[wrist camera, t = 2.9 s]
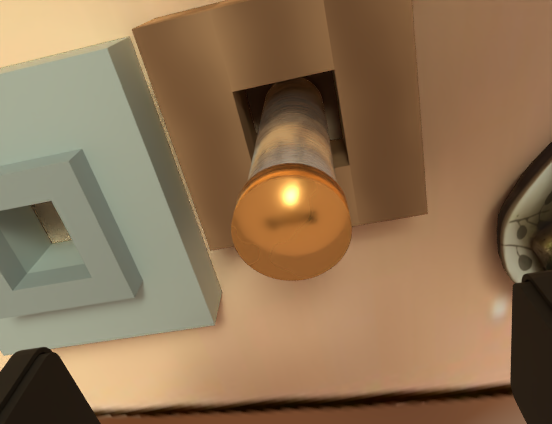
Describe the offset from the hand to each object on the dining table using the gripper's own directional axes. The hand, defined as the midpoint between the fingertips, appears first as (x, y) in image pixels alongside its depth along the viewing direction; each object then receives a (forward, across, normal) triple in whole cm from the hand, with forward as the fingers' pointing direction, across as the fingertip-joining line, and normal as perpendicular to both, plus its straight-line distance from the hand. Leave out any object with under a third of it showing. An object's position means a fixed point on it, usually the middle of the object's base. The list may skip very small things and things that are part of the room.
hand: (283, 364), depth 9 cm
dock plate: (+16, +14, +2) cm, 21 cm away
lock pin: (+16, 0, -1) cm, 16 cm away
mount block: (+16, 0, -1) cm, 16 cm away
